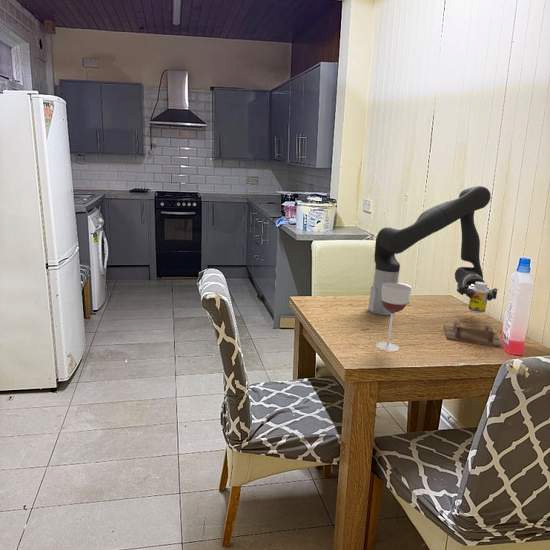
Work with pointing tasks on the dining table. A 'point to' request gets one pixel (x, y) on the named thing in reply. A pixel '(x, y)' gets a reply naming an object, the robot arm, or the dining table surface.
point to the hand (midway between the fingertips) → (480, 296)
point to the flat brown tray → (472, 334)
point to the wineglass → (393, 307)
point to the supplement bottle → (479, 298)
